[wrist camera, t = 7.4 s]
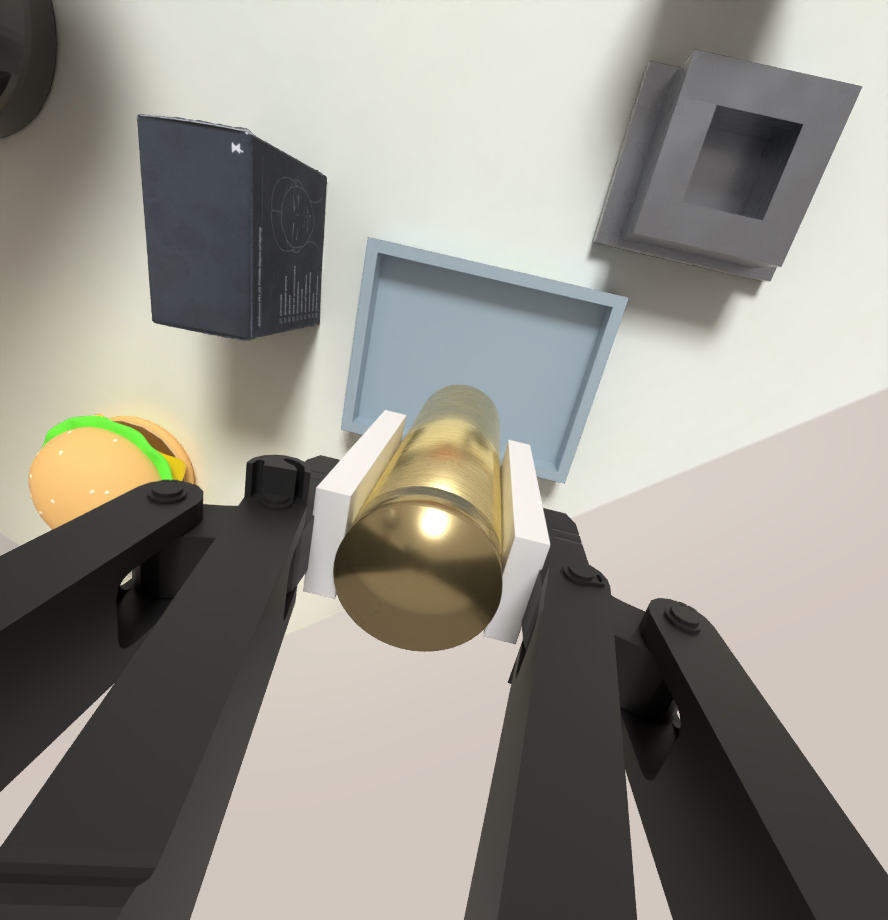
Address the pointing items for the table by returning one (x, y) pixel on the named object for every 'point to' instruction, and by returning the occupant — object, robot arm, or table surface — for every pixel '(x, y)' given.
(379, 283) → the tray
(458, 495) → the pin
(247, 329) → the box
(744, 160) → the block
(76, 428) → the hamburger
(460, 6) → the table surface
